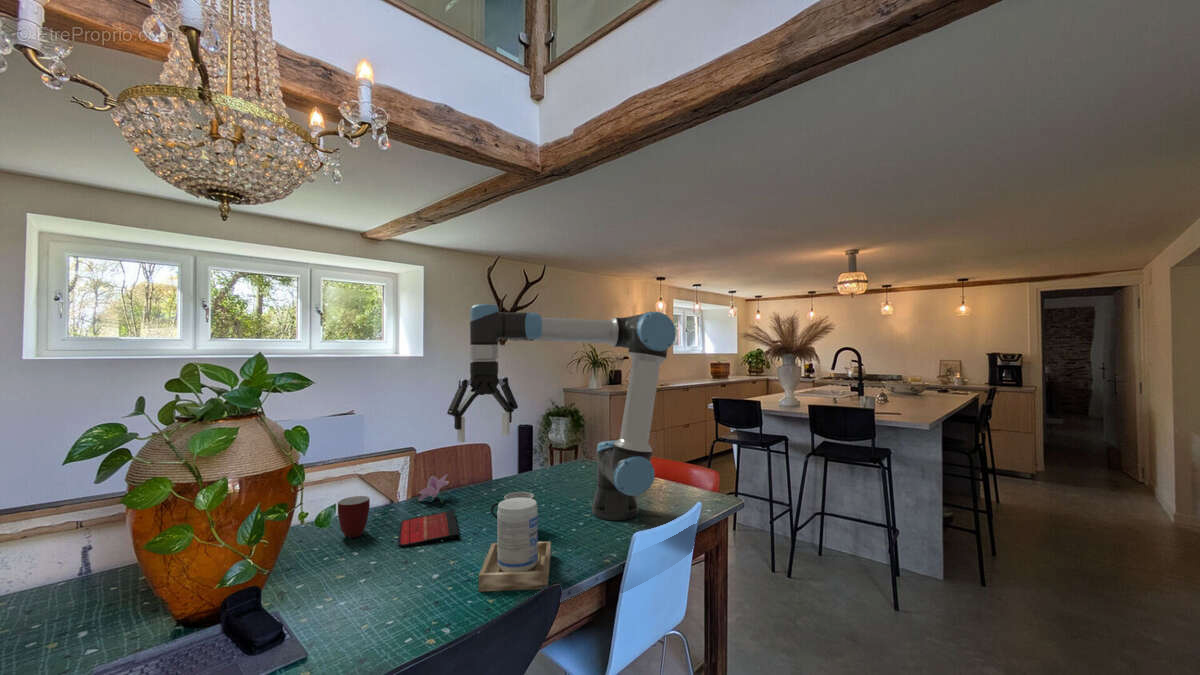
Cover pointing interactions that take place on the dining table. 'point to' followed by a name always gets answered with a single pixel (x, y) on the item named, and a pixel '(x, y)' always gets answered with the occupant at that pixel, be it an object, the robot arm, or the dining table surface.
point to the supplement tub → (517, 534)
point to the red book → (428, 529)
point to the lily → (433, 487)
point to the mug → (353, 515)
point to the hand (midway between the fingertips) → (484, 438)
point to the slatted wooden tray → (504, 581)
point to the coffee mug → (514, 495)
